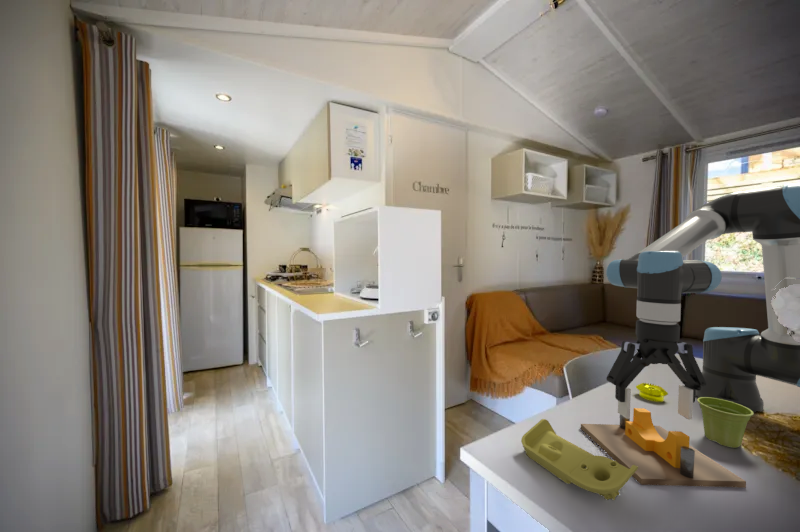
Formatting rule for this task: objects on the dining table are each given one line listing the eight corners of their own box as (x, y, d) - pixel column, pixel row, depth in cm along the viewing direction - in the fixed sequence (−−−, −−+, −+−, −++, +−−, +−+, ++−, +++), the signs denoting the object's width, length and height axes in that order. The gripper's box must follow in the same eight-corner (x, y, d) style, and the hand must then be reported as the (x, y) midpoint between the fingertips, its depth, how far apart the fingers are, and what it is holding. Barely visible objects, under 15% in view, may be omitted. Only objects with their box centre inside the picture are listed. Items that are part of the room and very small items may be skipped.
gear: (631, 396, 101) (663, 405, 94) (632, 384, 101) (663, 393, 94) (640, 390, 105) (671, 399, 99) (641, 379, 105) (671, 387, 99)
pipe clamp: (625, 434, 75) (626, 407, 75) (643, 435, 75) (644, 408, 75) (666, 467, 63) (667, 435, 63) (688, 468, 63) (689, 436, 63)
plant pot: (762, 456, 70) (764, 418, 70) (708, 447, 73) (710, 410, 73) (735, 435, 79) (737, 400, 78) (688, 427, 82) (689, 394, 82)
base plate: (659, 430, 80) (659, 425, 80) (745, 487, 60) (746, 481, 60) (580, 428, 80) (580, 423, 80) (641, 484, 60) (641, 478, 60)
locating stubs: (625, 425, 79) (626, 406, 79) (696, 478, 60) (697, 452, 60) (617, 425, 79) (618, 406, 79) (686, 478, 60) (687, 452, 60)
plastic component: (516, 441, 69) (547, 413, 73) (528, 469, 70) (559, 441, 74) (606, 501, 50) (642, 460, 54) (622, 539, 51) (656, 496, 55)
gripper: (697, 318, 73) (694, 408, 74) (590, 317, 73) (588, 407, 74) (731, 325, 65) (728, 425, 66) (612, 323, 65) (609, 424, 66)
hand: (654, 416), depth 70 cm, fingers open, 13 cm apart
